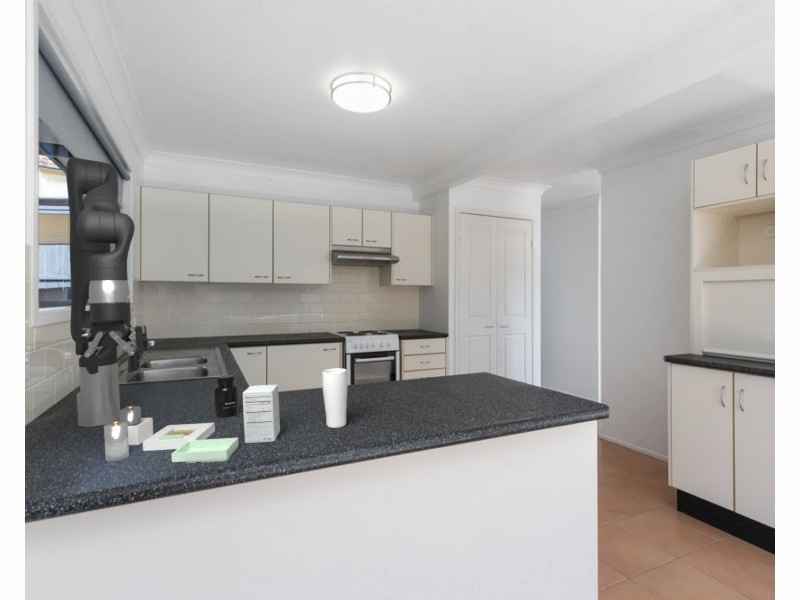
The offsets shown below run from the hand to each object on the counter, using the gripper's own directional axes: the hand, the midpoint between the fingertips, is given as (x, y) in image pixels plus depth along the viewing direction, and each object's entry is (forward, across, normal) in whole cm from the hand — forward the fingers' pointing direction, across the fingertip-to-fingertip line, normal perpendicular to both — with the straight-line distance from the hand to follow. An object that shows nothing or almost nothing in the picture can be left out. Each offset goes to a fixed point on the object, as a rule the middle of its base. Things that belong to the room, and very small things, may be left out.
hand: (113, 372), depth 93 cm
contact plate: (+20, +10, +9) cm, 24 cm away
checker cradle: (+20, +10, +9) cm, 24 cm away
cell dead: (+19, -3, +11) cm, 22 cm away
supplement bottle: (+20, +14, +30) cm, 39 cm away
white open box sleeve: (+20, -3, +11) cm, 23 cm away
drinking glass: (+20, +48, +15) cm, 54 cm away
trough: (+20, +20, -1) cm, 28 cm away
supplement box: (+20, +30, +9) cm, 37 cm away
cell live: (+20, 0, 0) cm, 20 cm away
